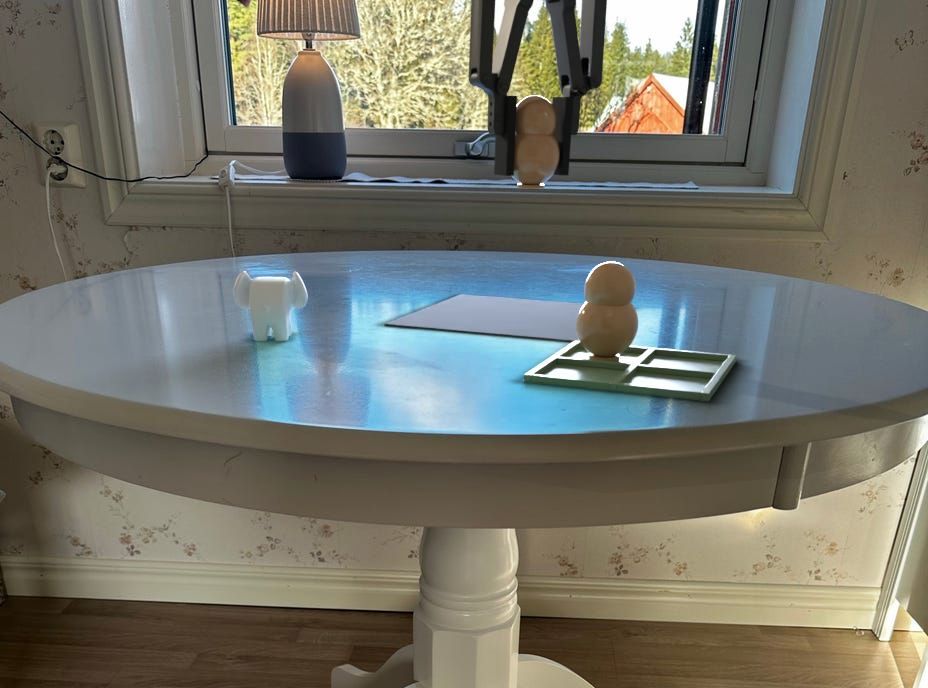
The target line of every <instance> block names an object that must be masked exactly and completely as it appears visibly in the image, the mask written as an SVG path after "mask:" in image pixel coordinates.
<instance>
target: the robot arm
mask: <svg viewBox="0 0 928 688" xmlns="http://www.w3.org/2000/svg"><path fill="white" fill-rule="evenodd" d="M542 1H545V2H544V3H545V9H546V11H547V13H548V15H549V18H550V27H551V34H552V40H553V47H554V53H555V62H556V69H557V76H558V82H559V91H560V94H561V95H562V96H552V100H551V104H552V105H553V107H554V109H555V112H556V117H557V123H556V128H555V131H554V133H553V135H554V136H555V137H556V139H557V142H558V144H559V149H560V159H559V164H558V167H557V169H556V171H555V173H554V174H553V175H556V176H569V175H570V173H569V172H570V159H571V155H570V154H571V142H572V136H577V135H578V133H579V130H580V117H581V105H582V104H581V103H582V97H585V96H586V95H587V94H588V92H590V91H592V90H594V89H596V90H597V89H598V88H600V87H601V86H602V82H603V70H604V69H603V68H604V52H605V40H606V39H605V37H606V23H607V22H606V21H607V8H608V7H607V6H608V0H581V9H580V10H581V14H580V29H579V30H580V31H579V35H578V28H577V19H576V18H577V17H576V12H575V11H576V10H575V9H576V7H577V0H542ZM470 4H471V5H470V27H469V57H468V82H469V84H470V85H471V86H473V87H477V88H479V89H480V90H483V92H484V94H485V95H486V96H487V131H488V135H493V136H494V135H495V137H494V164H493V165H494V167H493V169H494V170H493V175H498V176H504V177H512V176H514V155H515V132H516V108H517V105H518V103H517V102H518V95H508V92H509V91H510V88H511V85H512V81H513V76H514V71H515V68H516V64H517V59H518V55H519V51H520V48H521V43H522V40H523V35H524V31H525V27H526V24H527V19H528V15H529V11H530V10H531V8H532V7H533V4H534V0H504V1H503V7H504V11H503V15H502V19H501V22H500V27H499V32H498V36H497V39H496V44H495V48H494V37H495V18H496V0H471V1H470Z"/></svg>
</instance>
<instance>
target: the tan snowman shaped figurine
mask: <svg viewBox="0 0 928 688" xmlns="http://www.w3.org/2000/svg"><path fill="white" fill-rule="evenodd" d="M556 123H557V117H556V112H555V109H554V107H553V105H552V102H551V101H549V99H547V98H545V97H543V96H542V95H534V94H533V95H529V96H526V97H524V98H523V99H522V100H520V101H519V102H518V103H517V108H516V132H515V155H514V176H511V178H512V179H513V180H514V181H516V182H517V184H516V187H517V188H518V189H526V190H527V189H530V190H533V189H535V190H536V189H537V190H538V189H539V190H541V189H545V184H544V183H546V182H547V181H548V180H550V179H551V178H552V177H553V175H554V173H555V171H556V169H557V167H558V164H559V159H560V149H559V144H558V142H557V139H556V137H555V136H554V135H553V133H554V131H555V128H556Z"/></svg>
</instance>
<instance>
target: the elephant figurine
mask: <svg viewBox="0 0 928 688" xmlns="http://www.w3.org/2000/svg"><path fill="white" fill-rule="evenodd" d="M232 299H233V302H234V304H235V305H236V306H237V307H238V308H241V309H249V316H250V324H251V330H252V335H253V339H254V341H255V342H266V341H268V339H269V337H271V336H272V334H273V338H274V341H276V342H286V341H288V340H289V337H291V336H292V308H294V309H297V310H302V309H303V308H305V307H306V305H307V303H308V301H309V300H308V299H309V296H308V290H307V288H306V285H305V283H304V281H303V279H302V278H301V276H300V274H299V273H298V272H297V271H296V270H295V271H293V272H292V278H291V279H289V278H288V277H285V276H257V277H253V279H252V278H251V277H250V275H249V274H248V272H247V271H245V270H243V271H241V273H239V274H238V276H237V277H236V280H235V282H234V284H233V290H232Z"/></svg>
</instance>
